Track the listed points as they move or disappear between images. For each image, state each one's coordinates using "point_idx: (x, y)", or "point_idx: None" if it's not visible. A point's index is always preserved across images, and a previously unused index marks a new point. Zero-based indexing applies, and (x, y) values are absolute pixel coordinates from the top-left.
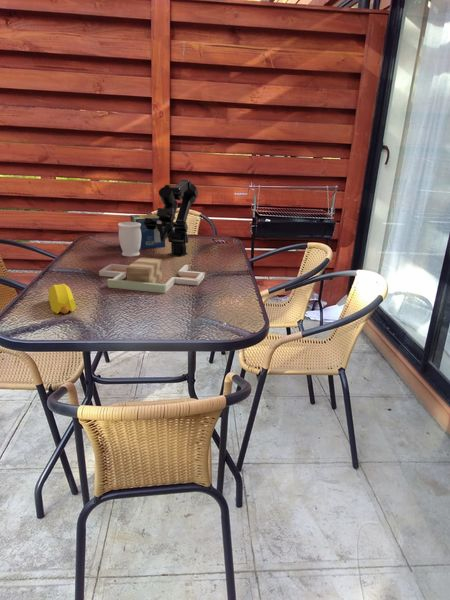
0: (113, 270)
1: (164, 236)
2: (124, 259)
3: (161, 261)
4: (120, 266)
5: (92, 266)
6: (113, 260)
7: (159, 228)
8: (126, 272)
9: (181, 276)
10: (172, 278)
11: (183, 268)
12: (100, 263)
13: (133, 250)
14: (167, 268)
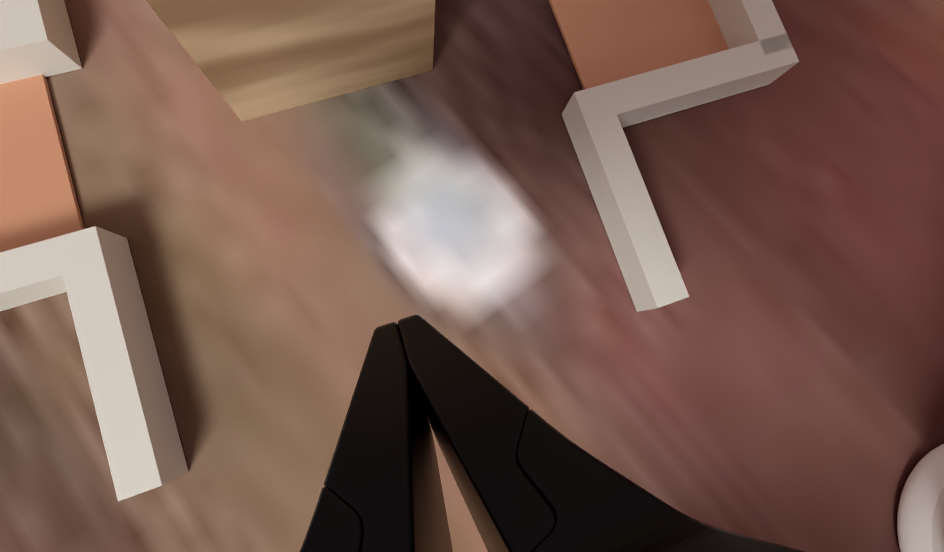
0: (699, 35)
1: (349, 418)
2: (888, 354)
3: (156, 5)
4: (686, 63)
5: (907, 43)
6: (929, 268)
7: (669, 540)
8: (579, 49)
9: (73, 223)
10: (19, 3)
11: (96, 342)
12: (931, 137)
13: None
14: None
